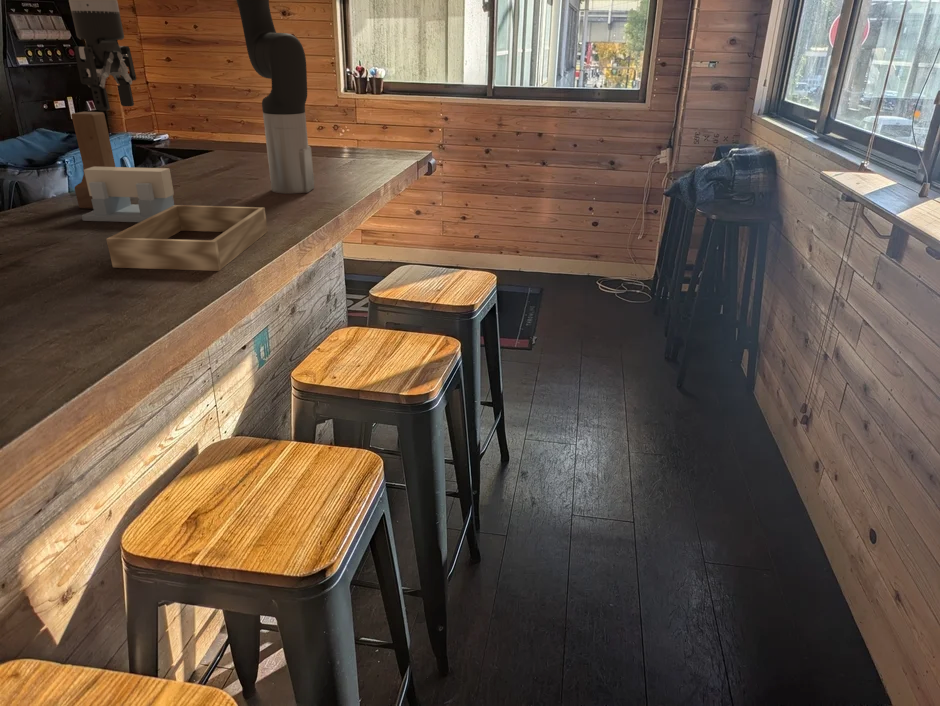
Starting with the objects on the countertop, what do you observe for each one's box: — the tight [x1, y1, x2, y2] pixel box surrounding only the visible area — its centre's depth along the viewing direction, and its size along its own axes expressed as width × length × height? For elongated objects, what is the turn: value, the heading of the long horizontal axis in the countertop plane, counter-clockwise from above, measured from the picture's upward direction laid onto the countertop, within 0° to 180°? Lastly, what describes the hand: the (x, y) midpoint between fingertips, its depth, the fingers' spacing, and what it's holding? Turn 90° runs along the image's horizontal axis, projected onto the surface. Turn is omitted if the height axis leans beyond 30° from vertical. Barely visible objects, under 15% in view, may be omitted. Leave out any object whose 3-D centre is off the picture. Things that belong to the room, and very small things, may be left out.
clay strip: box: [83, 166, 175, 198], centre depth 126 cm, size 15×4×5 cm, turn 87°
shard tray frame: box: [105, 204, 268, 272], centre depth 109 cm, size 17×23×4 cm
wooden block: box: [71, 111, 117, 210], centre depth 133 cm, size 9×4×18 cm, turn 177°
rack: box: [81, 182, 175, 223], centre depth 127 cm, size 16×10×7 cm, turn 87°
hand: (116, 108), depth 120 cm, fingers open, 8 cm apart
